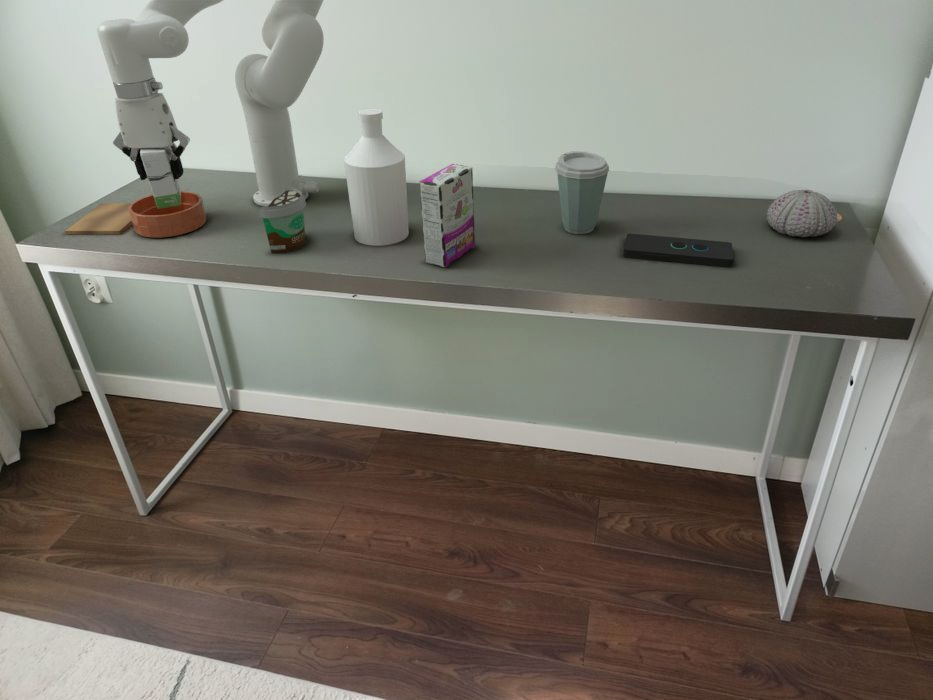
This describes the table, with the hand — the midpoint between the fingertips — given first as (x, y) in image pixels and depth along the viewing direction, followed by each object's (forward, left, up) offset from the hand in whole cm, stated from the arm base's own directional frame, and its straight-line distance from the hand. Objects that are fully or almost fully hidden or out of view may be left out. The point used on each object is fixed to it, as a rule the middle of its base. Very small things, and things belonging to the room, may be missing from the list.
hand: (162, 176), depth 147 cm
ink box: (0, 0, -6) cm, 6 cm away
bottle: (-46, +5, -11) cm, 48 cm away
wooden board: (+16, -3, -11) cm, 19 cm away
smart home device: (-105, +14, -11) cm, 107 cm away
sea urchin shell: (-132, +2, -11) cm, 133 cm away
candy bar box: (-61, +15, -11) cm, 64 cm away
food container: (-29, +10, -11) cm, 33 cm away
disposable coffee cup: (-87, +2, -11) cm, 88 cm away
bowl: (+1, 0, -11) cm, 11 cm away
